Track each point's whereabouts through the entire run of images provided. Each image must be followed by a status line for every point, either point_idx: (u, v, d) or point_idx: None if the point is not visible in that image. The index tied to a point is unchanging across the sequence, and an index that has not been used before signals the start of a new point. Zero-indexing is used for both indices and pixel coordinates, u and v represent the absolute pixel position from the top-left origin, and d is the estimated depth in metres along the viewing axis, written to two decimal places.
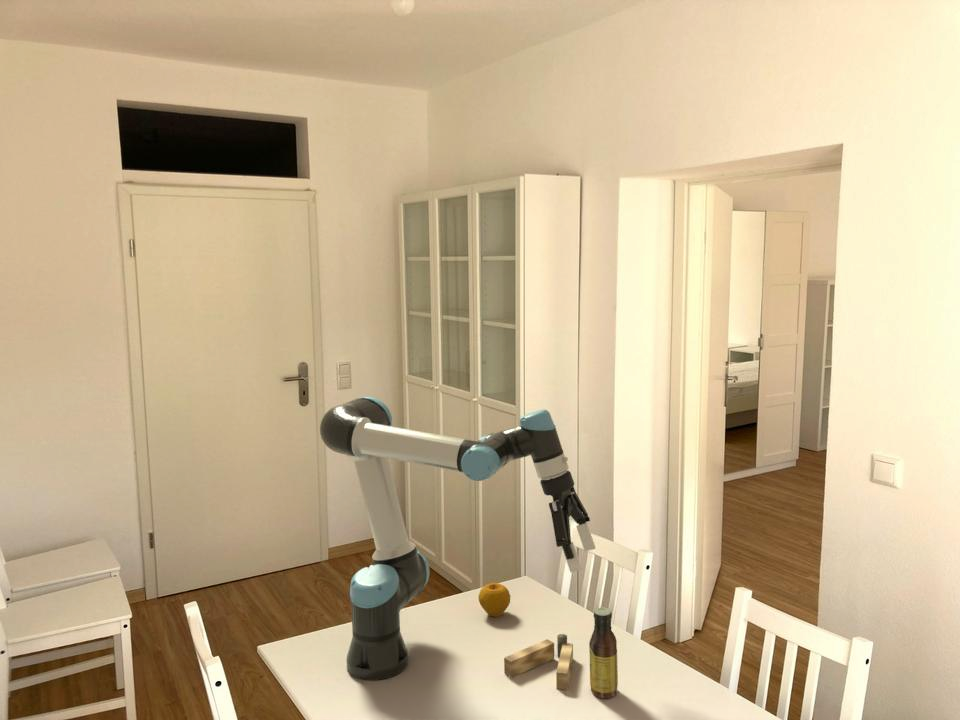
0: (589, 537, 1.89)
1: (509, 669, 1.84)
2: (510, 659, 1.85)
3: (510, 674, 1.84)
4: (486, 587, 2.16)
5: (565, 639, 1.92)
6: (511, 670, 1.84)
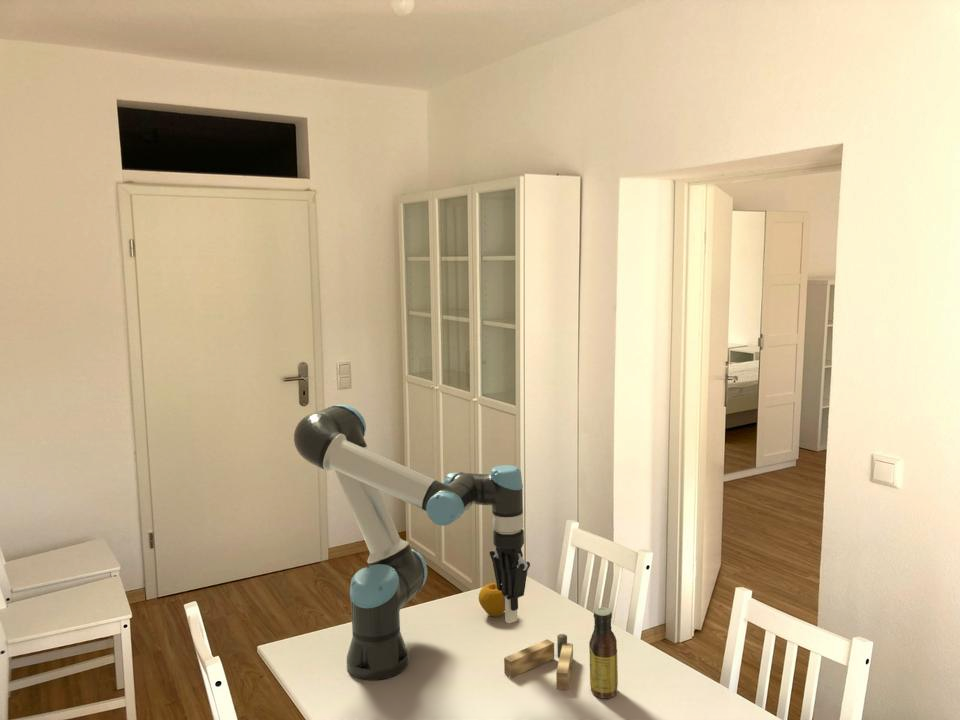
0: None
1: (509, 669, 1.84)
2: (510, 659, 1.85)
3: (510, 674, 1.84)
4: (486, 587, 2.16)
5: (565, 639, 1.92)
6: (511, 670, 1.84)
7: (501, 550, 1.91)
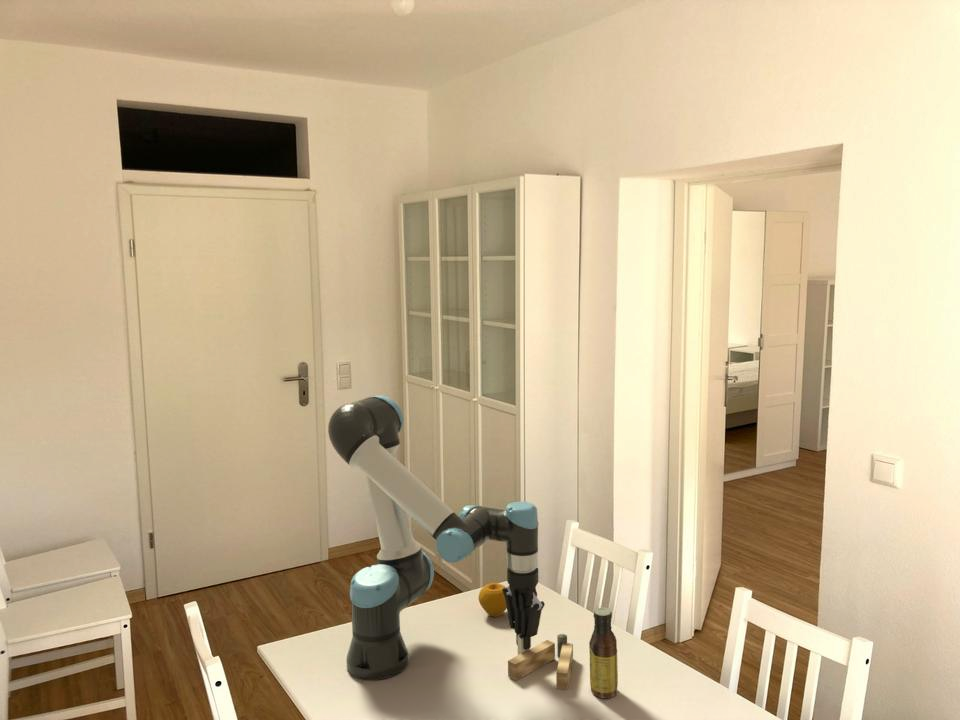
0: None
1: (513, 672, 1.83)
2: (514, 662, 1.83)
3: (514, 677, 1.83)
4: (486, 587, 2.16)
5: (565, 639, 1.92)
6: (515, 673, 1.83)
7: (515, 588, 1.87)
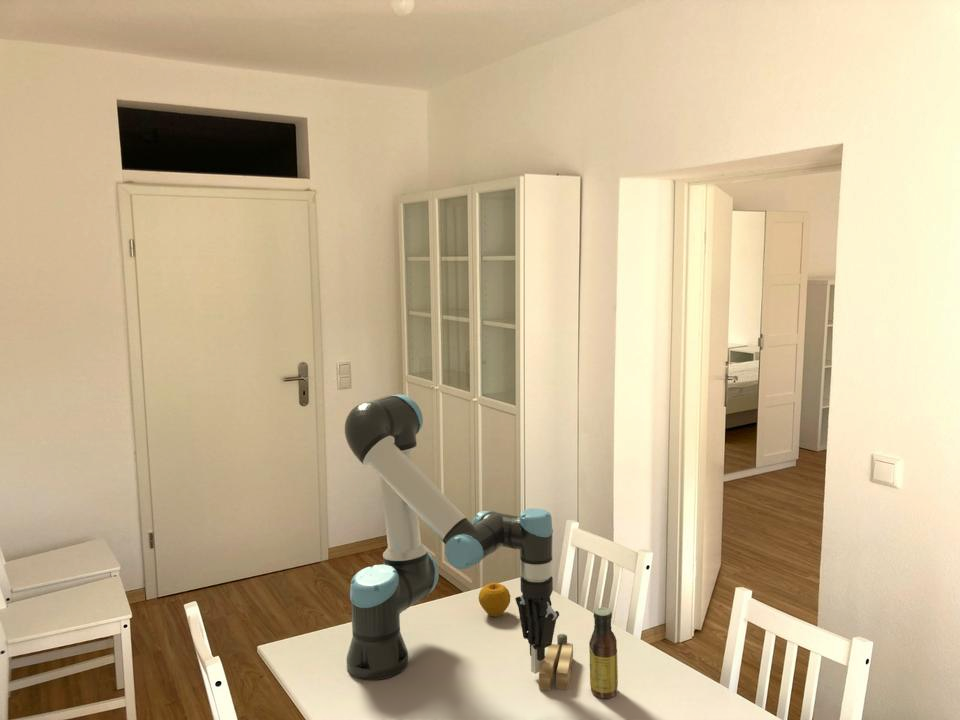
0: None
1: (547, 683, 1.78)
2: (546, 672, 1.79)
3: (548, 687, 1.78)
4: (486, 587, 2.16)
5: (565, 639, 1.92)
6: (549, 683, 1.78)
7: (528, 597, 1.82)
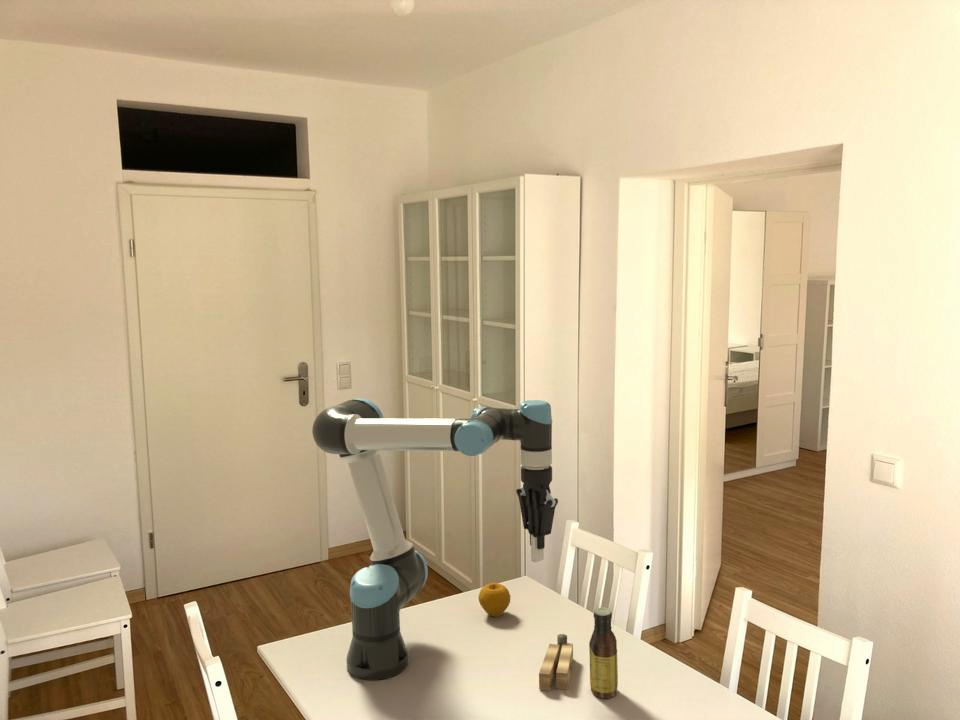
0: None
1: (547, 683, 1.78)
2: (546, 672, 1.79)
3: (548, 687, 1.78)
4: (486, 587, 2.16)
5: (565, 639, 1.92)
6: (549, 683, 1.78)
7: (528, 487, 1.87)
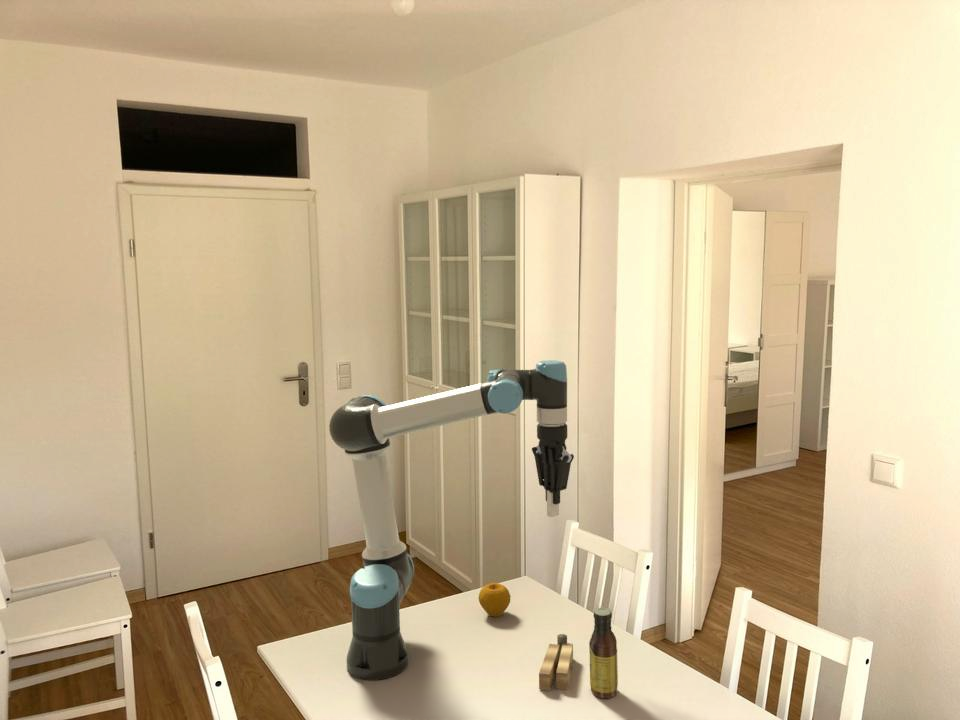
0: None
1: (547, 683, 1.78)
2: (546, 672, 1.79)
3: (548, 687, 1.78)
4: (486, 587, 2.16)
5: (565, 639, 1.92)
6: (549, 683, 1.78)
7: (544, 444, 1.93)
